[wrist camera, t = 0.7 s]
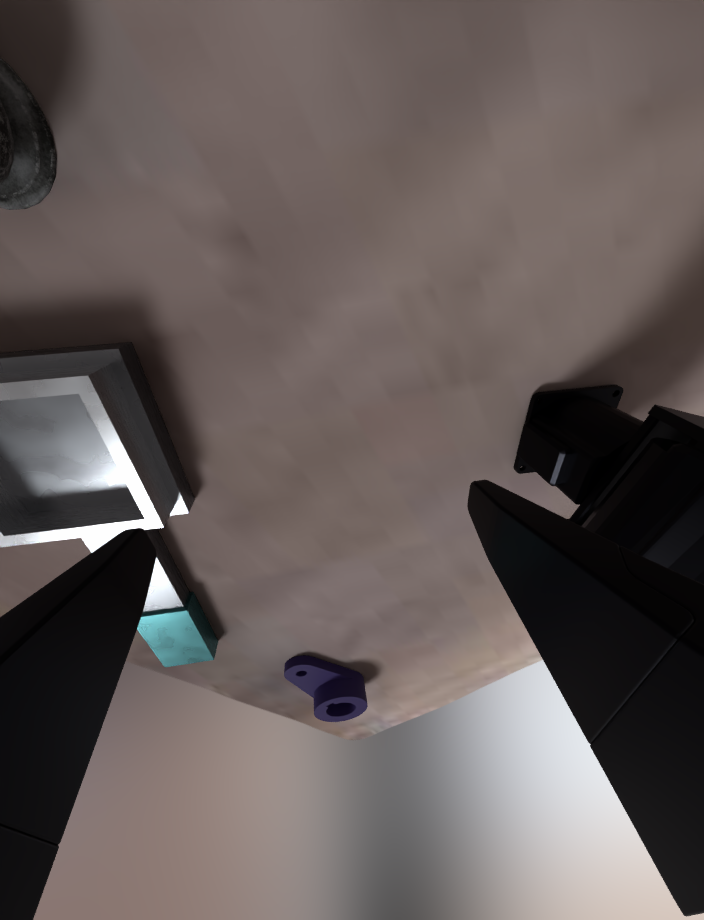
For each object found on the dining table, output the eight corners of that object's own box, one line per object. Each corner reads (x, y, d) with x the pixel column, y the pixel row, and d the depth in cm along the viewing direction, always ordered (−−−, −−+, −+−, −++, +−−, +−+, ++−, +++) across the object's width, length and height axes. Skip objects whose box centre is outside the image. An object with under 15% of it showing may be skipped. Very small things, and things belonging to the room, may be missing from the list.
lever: (372, 677, 42) (377, 706, 39) (334, 697, 43) (336, 726, 40) (311, 644, 36) (312, 675, 33) (269, 667, 37) (267, 699, 35)
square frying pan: (131, 342, 18) (96, 358, 15) (250, 636, 33) (244, 673, 30) (-89, 359, 17) (-173, 381, 14) (138, 653, 32) (121, 692, 29)
